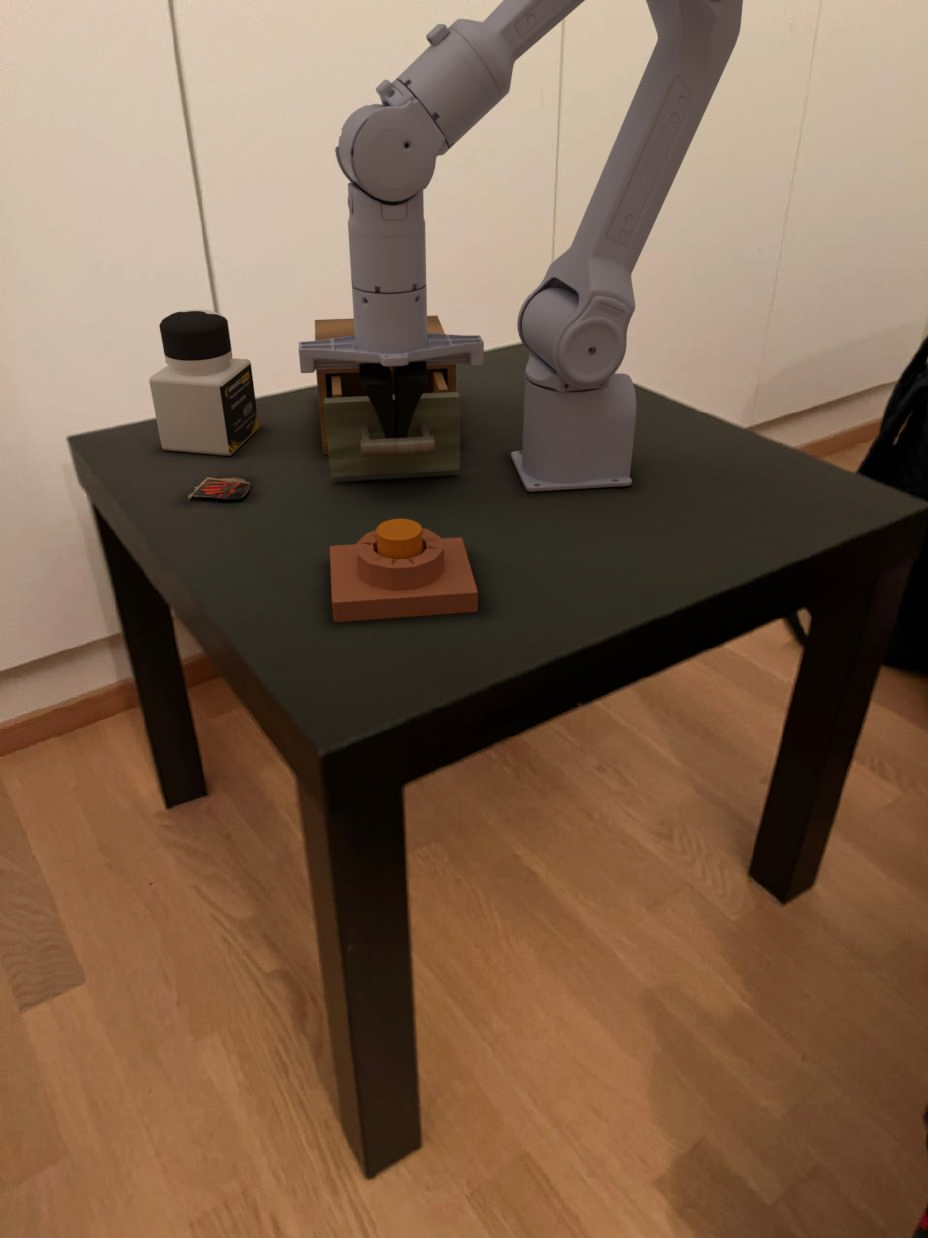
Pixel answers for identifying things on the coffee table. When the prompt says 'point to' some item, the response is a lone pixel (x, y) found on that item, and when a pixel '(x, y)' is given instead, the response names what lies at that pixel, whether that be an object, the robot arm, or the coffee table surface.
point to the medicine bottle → (202, 387)
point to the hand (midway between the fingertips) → (395, 450)
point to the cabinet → (324, 382)
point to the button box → (401, 580)
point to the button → (399, 539)
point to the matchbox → (221, 488)
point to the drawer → (362, 437)
